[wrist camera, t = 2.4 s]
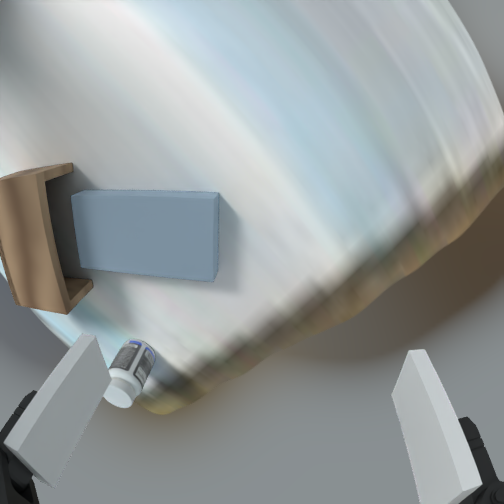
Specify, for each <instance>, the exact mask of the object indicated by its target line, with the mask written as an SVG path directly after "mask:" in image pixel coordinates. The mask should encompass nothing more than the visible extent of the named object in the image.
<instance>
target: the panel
mask: <svg viewBox="0 0 504 504" xmlns="http://www.w3.org/2000/svg"><path fill="white" fill-rule="evenodd" d="M71 203H72V212H73V220H74V227H75V234H76V241H77V247H78V253H79V259H80V264H81V268H88V269H96V270H104V271H113V272H121V273H130V274H139V275H148V276H157V277H167V278H176V279H187V280H197V281H208V282H214V279H215V277H216V274H217V272H218V224H219V193H217V192H195V191H164V190H83V191H81V192H78V193H76V194H74V195H72V196H71Z"/></svg>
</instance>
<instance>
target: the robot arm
mask: <svg viewBox="0 0 504 504" xmlns="http://www.w3.org/2000/svg"><path fill="white" fill-rule="evenodd" d="M111 381H112V378H111V376H110V373H109V371H108V368H107V366H106V363H105V361H104V358H103V355H102V353H101V350H100V347H99V344H98V341H97V339H96V336H93V335H88V334H81V336H80V337H79V338H78V339H77V341H76V342H75V343H74V344H73V346H72V347H71V348H70V349H69V351H68V352H67V353H66V355H65V356H64V357H63V359H62V360H61V361H60V363H59V364H58V365H57V366H56V368H55V369H54V370H53V372H52V373H51V375H50V376H49V377H48V378H47V380H46V381H45V383H44V384H43V385H42V387H41V388H40V390H39V391H38V392H37V391H34V390H33V391H32V392H31V393H29V394H28V395H27V396H25V397H24V399H23V400H22V401H21V403H20V404H19V407H17V408H16V410H15V411H14V414H12V416H11V417H10V418H9V420H8V422H7V423H6V424H5V426H4V427H3V429H2V430H1V432H0V504H39V501H38V497H37V493H36V489H35V485H34V482H33V480H32V476H33V475H34V476H35V477H37V478H38V479H39V480H40V481H41V482H43V483H45V484H47V485H49V486H51V487H53V488H55V487H56V485H57V483H58V481H59V479H60V477H61V475H62V473H63V471H64V469H65V467H66V465H67V463H68V461H69V459H70V457H71V455H72V453H73V451H74V449H75V447H76V445H77V443H78V441H79V439H80V437H81V436H82V434H83V432H84V430H85V428H86V426H87V424H88V422H89V421H90V419H91V417H92V415H93V413H94V411H95V409H96V408H97V406H98V404H99V402H100V400H101V399H102V397H103V395H104V393H105V391H106V390H107V388H108V386H109V384H110V383H111ZM391 396H392V399H393V402H394V405H395V409H396V412H397V415H398V419H399V422H400V425H401V429H402V433H403V436H404V440H405V443H406V447H407V450H408V455H409V458H410V462H411V466H412V470H413V474H414V479H415V483H416V487H417V491H418V496H419V501H420V504H504V482H502V481H499V480H498V478H497V476H496V473H495V471H494V468H493V466H492V463H491V460H490V458H489V455H488V453H487V450H486V448H485V447H484V443H483V441H482V439H481V438H480V434H479V431H478V429H477V427H476V425H475V424H474V423H473V422H472V421H471V420H470V419H469V418H468V417H464V418H460V419H458V418H457V416H456V414H455V412H454V409H453V407H452V405H451V403H450V400H449V398H448V396H447V394H446V392H445V390H444V388H443V385H442V383H441V381H440V379H439V377H438V375H437V373H436V371H435V369H434V367H433V365H432V363H431V361H430V359H429V357H428V355H427V353H426V351H425V350H424V349H419V350H409V351H408V354H407V357H406V359H405V362H404V365H403V367H402V370H401V373H400V375H399V378H398V380H397V382H396V385H395V387H394V390H393V392H392V394H391Z"/></svg>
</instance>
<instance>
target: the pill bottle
mask: <svg viewBox="0 0 504 504" xmlns="http://www.w3.org/2000/svg"><path fill="white" fill-rule="evenodd" d="M154 362H155V353H154V351H153V350H152V348H151V347H150V346H149V345H147V344H146V343H144V342H143V341H140V340H138V339H129V340H127V341H126V342H125V343H124V344H123V345H122V347H121V349H120V350H119V352H118V354H117V355H116V357H115V359H114V361H113V362H112V364H111V366H110V367H109V369H108V371H109V373H110V376H111V378H112V381H111V383H110V384H109V386H108V388H107V390H106V391H105V393H104V395H103V396H104V397H105V399H106V400H107V401H109V402H110V403H112V404H113V405H115V406H118V407H122V408H128V407H130V406H131V405H132V403H133V401H134V399H135V397H136V396H138V395H139V394H140V393H141V391H142V389H143V387H144V384H145V382H146V380H147V377H148V375H149V373H150V371H151V368H152V366H153V364H154Z"/></svg>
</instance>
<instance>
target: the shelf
mask: <svg viewBox="0 0 504 504" xmlns="http://www.w3.org/2000/svg"><path fill="white" fill-rule="evenodd" d="M70 172H73V164H72V163H66V164H59V165H53V166H47V167H41V168H35V169H29V170H24V171H19V172H16V173H13V174H10V175H7V176H4V177H1V178H0V256H1V260H2V263H3V267H4V270H5V274H6V277H7V280H8V283H9V286H10V289H11V292H12V295H13V298H14V301H15V303H16V305H20V306H25V307H29V308H34V309H39V310H44V311H50V312H55V313H60V314H66V315H67V314H68V313H69V312H70V311H71V310H72V309H73V308H74V307H75V306H76V305H77V304H78V303H79V301H80V300H81V299H82V298H83V297H84V296H85V295H86V294H87V293H88V292H89V291H90V290H91V289H92V288H93V284H92V280H89V279H78V278H68V277H63V274H62V270H61V266H60V262H59V257H58V253H57V249H56V244H55V239H54V235H53V230H52V224H51V219H50V213H49V207H48V201H47V194H46V187H45V181H48V180H50V179H53V178H56V177H59V176H62V175H65V174H68V173H70Z"/></svg>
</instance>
